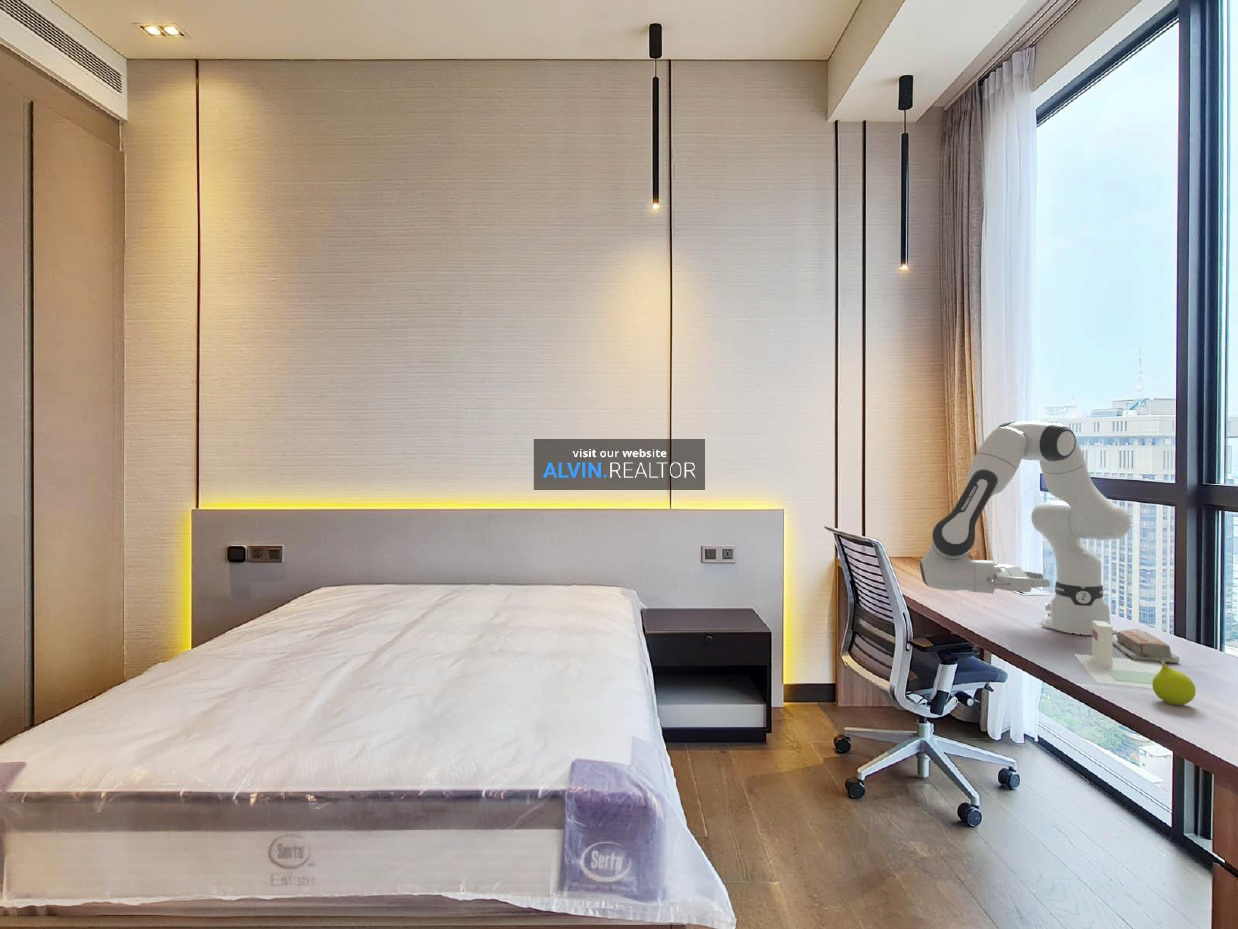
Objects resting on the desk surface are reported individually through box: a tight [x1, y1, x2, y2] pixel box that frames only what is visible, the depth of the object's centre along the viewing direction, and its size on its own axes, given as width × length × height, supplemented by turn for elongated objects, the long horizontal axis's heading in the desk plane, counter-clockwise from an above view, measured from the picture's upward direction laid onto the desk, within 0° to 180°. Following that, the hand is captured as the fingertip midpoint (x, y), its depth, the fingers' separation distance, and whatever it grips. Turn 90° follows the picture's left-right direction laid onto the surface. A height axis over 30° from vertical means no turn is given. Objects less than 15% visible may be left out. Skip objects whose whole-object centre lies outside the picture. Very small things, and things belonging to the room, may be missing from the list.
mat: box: [1073, 653, 1162, 690], centre depth 161 cm, size 24×18×1 cm
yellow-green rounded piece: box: [1152, 655, 1197, 706], centre depth 142 cm, size 7×7×10 cm
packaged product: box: [1113, 628, 1180, 664], centre depth 176 cm, size 18×5×10 cm
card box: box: [1091, 620, 1114, 667], centre depth 168 cm, size 6×3×10 cm, turn 156°
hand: (1046, 580), depth 173 cm, fingers open, 8 cm apart
